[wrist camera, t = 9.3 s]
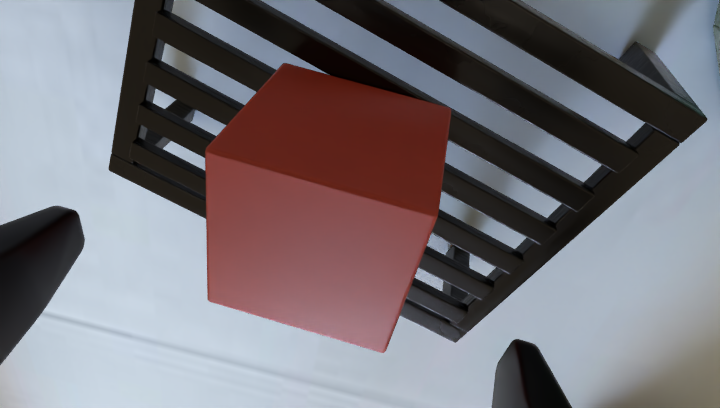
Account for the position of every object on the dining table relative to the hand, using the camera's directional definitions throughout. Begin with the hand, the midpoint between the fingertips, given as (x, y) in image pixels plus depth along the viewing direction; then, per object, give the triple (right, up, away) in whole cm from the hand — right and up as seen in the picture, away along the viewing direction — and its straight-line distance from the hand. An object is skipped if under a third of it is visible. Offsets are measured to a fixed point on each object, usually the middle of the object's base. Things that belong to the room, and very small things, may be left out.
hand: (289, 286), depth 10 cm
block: (+1, +3, +4) cm, 5 cm away
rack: (+2, +6, +8) cm, 10 cm away
